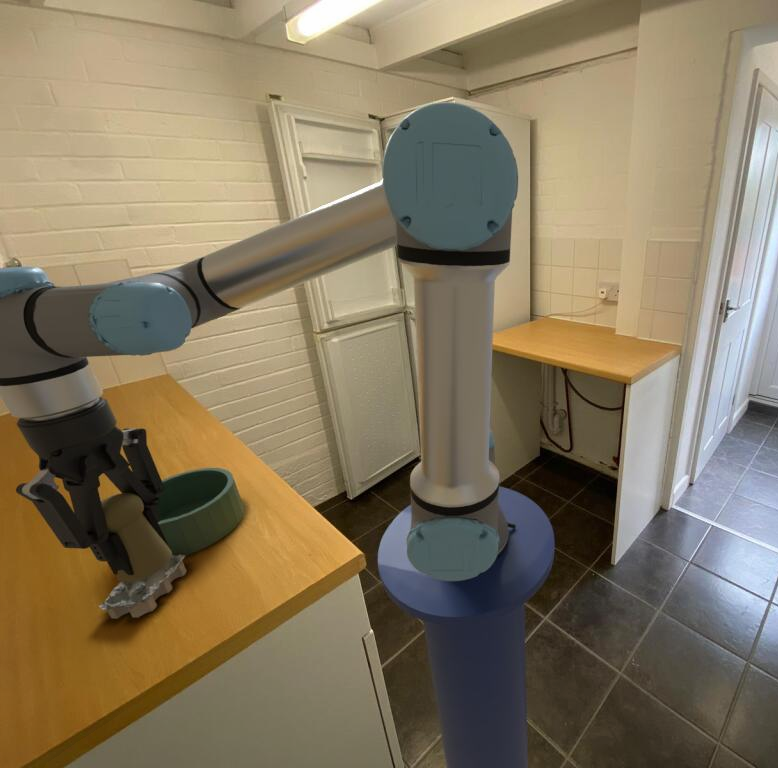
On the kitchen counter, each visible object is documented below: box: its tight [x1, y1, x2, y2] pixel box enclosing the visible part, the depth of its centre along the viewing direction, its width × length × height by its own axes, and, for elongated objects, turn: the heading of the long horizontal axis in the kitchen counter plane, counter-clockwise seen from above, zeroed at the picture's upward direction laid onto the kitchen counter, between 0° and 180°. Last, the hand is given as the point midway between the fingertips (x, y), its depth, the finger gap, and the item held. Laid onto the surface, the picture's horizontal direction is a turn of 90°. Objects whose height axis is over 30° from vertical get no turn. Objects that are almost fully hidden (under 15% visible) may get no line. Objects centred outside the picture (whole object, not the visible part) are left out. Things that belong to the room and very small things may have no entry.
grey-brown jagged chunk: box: [97, 555, 187, 620], centre depth 69 cm, size 11×8×4 cm
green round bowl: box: [155, 467, 245, 557], centre depth 82 cm, size 17×17×8 cm
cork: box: [101, 492, 172, 583], centre depth 56 cm, size 6×6×11 cm
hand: (142, 558), depth 57 cm, fingers closed on cork, 4 cm apart
